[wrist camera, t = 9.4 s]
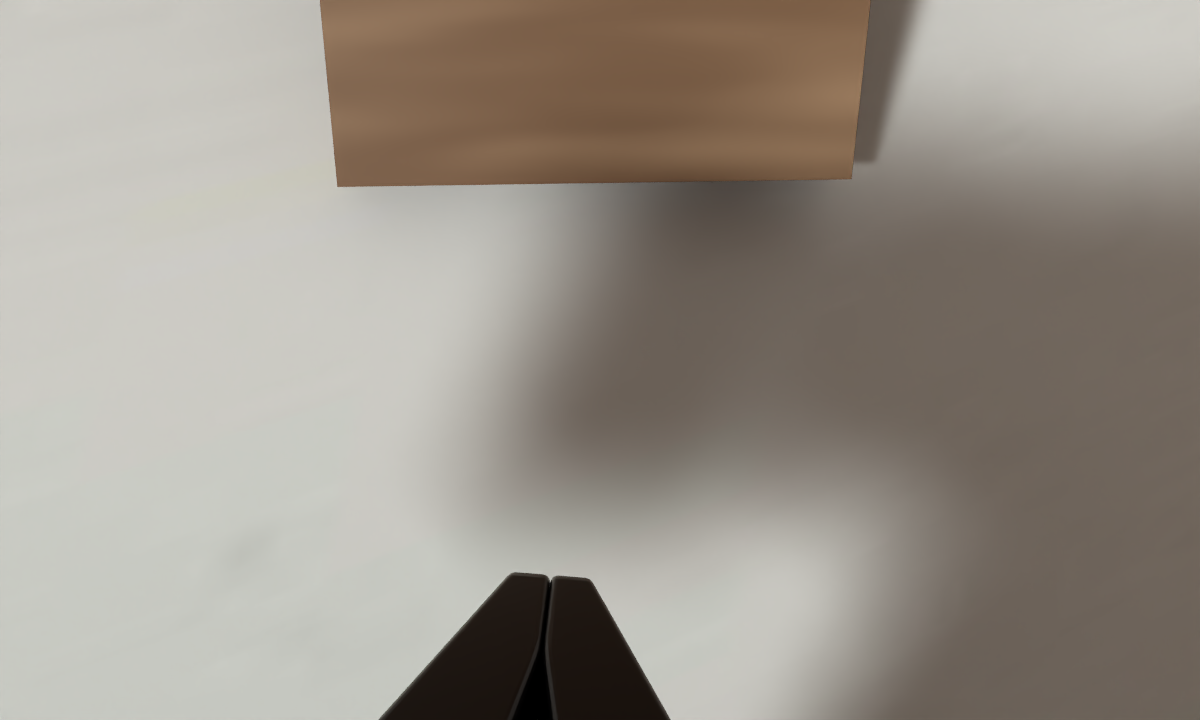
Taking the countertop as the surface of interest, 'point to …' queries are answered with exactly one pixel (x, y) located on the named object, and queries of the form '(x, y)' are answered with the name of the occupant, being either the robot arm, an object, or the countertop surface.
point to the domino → (592, 90)
